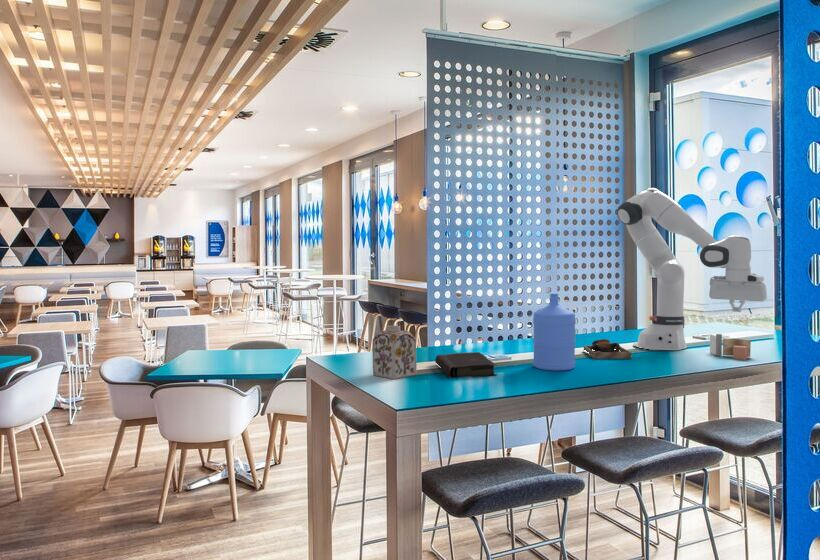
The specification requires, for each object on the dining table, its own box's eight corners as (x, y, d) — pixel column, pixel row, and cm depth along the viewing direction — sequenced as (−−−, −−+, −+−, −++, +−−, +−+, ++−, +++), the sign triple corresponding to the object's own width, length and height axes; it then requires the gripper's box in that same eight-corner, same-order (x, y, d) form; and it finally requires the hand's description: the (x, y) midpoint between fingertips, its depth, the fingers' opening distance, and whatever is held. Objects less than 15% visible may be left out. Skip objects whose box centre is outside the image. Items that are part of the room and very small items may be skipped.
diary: (448, 380, 224) (448, 366, 224) (435, 366, 249) (435, 354, 248) (499, 377, 227) (499, 363, 226) (481, 364, 251) (481, 351, 251)
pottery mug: (590, 359, 260) (587, 340, 264) (596, 365, 267) (593, 347, 271) (620, 353, 255) (616, 334, 259) (625, 360, 262) (621, 341, 266)
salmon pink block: (745, 359, 252) (745, 347, 252) (732, 358, 255) (733, 346, 255) (747, 358, 255) (747, 346, 255) (735, 357, 258) (735, 345, 258)
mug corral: (593, 358, 258) (593, 352, 258) (583, 351, 275) (583, 345, 275) (631, 358, 257) (631, 352, 257) (619, 351, 275) (619, 345, 274)
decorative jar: (371, 375, 230) (371, 326, 229) (395, 370, 238) (394, 323, 237) (394, 380, 221) (393, 329, 220) (417, 375, 229) (417, 325, 228)
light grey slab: (717, 356, 261) (717, 334, 260) (709, 352, 269) (709, 331, 268) (721, 356, 261) (721, 334, 260) (713, 352, 269) (713, 331, 268)
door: (722, 355, 260) (723, 338, 260) (722, 354, 262) (723, 337, 262) (750, 356, 256) (750, 339, 256) (750, 356, 258) (750, 338, 258)
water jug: (576, 371, 232) (576, 295, 231) (532, 370, 235) (532, 295, 234) (574, 363, 247) (574, 292, 246) (533, 362, 251) (533, 292, 249)
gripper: (707, 276, 254) (706, 310, 255) (764, 278, 240) (763, 314, 241) (712, 275, 258) (711, 309, 259) (768, 277, 245) (767, 312, 246)
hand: (736, 311), depth 250 cm, fingers closed
